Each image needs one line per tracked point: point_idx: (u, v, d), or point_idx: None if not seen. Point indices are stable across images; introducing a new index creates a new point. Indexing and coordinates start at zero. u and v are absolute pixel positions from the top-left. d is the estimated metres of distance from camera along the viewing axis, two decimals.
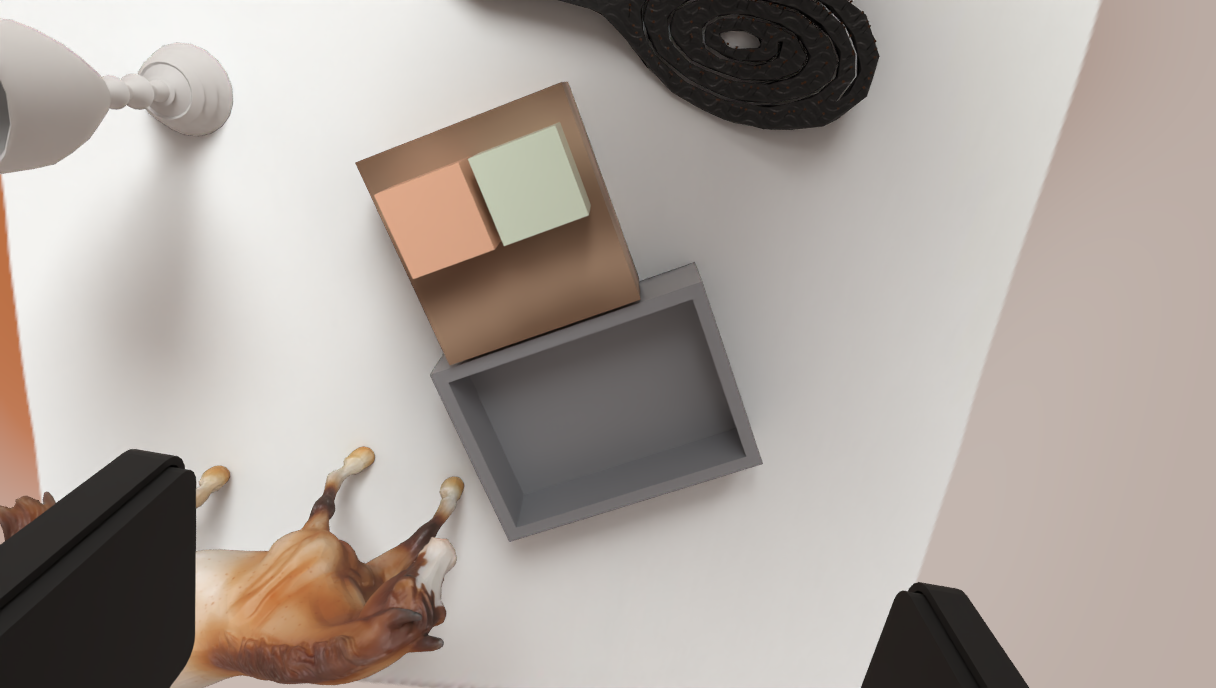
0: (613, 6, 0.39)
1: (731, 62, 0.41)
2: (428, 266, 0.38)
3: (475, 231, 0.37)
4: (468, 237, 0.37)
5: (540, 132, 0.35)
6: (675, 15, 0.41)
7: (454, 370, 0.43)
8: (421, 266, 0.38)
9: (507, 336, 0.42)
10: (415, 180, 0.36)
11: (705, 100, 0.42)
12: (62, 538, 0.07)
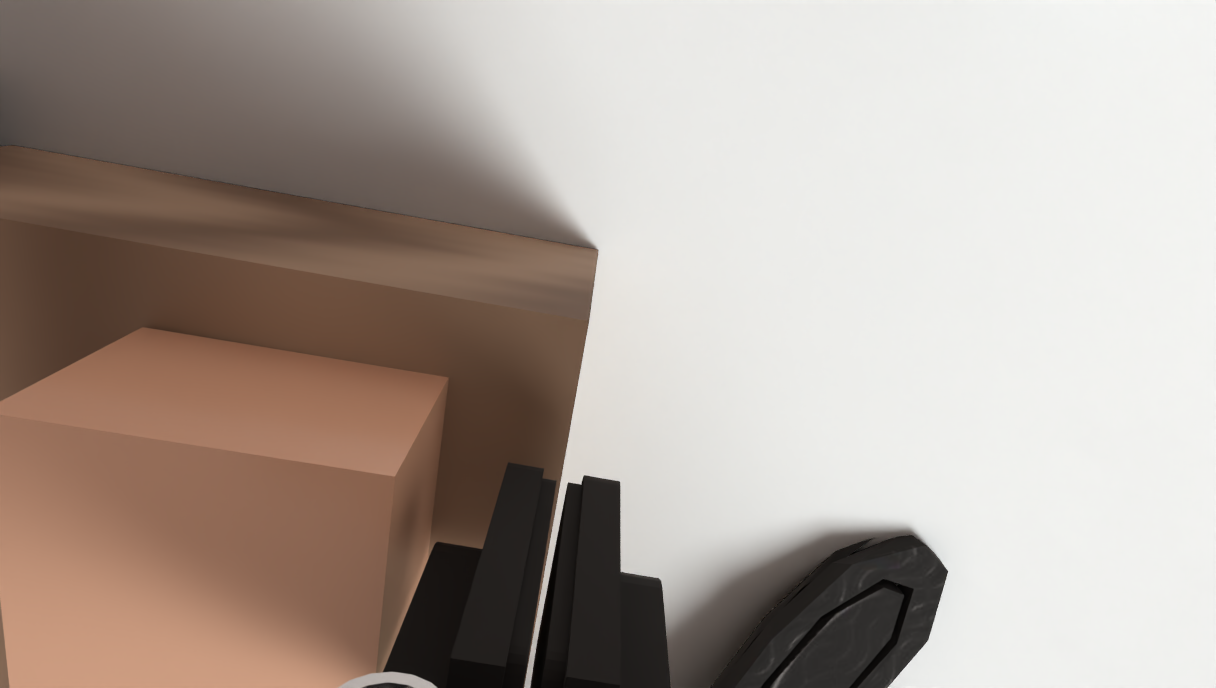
0: None
1: None
2: (21, 497, 0.09)
3: None
4: (88, 679, 0.09)
5: None
6: None
7: None
8: (28, 473, 0.08)
9: None
10: (374, 632, 0.09)
11: None
12: (520, 540, 0.09)
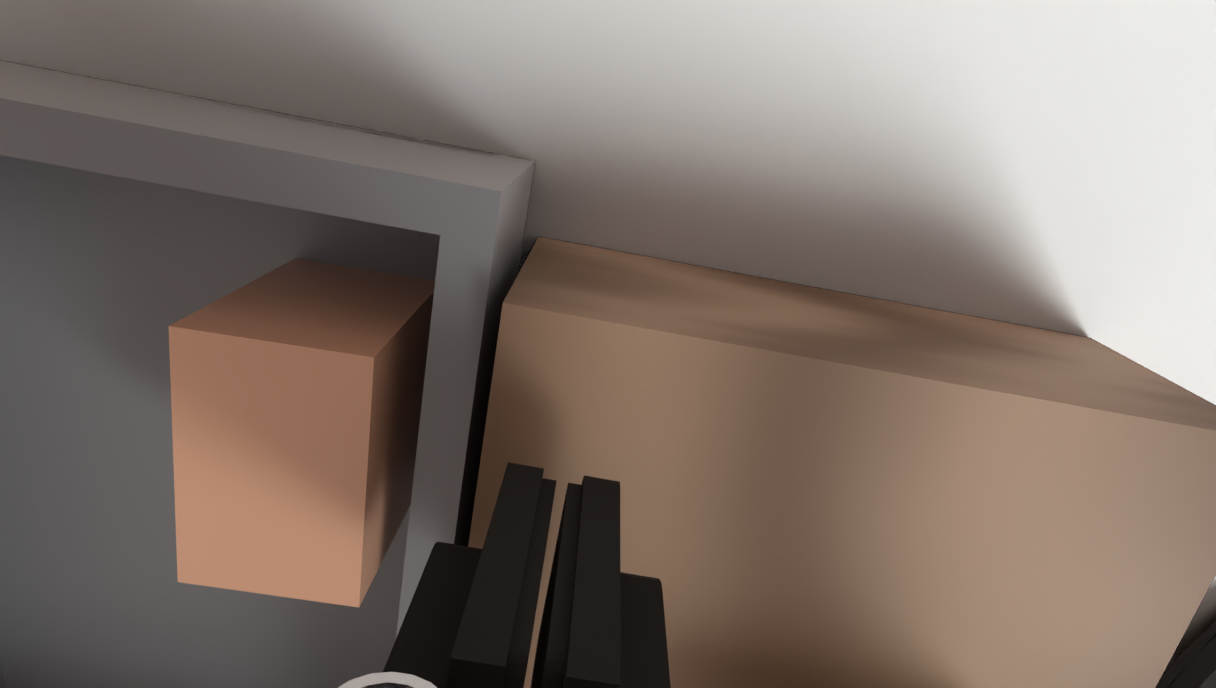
0: None
1: None
2: None
3: None
4: None
5: None
6: None
7: (472, 282, 0.11)
8: None
9: None
10: (177, 457, 0.12)
11: None
12: (520, 539, 0.09)
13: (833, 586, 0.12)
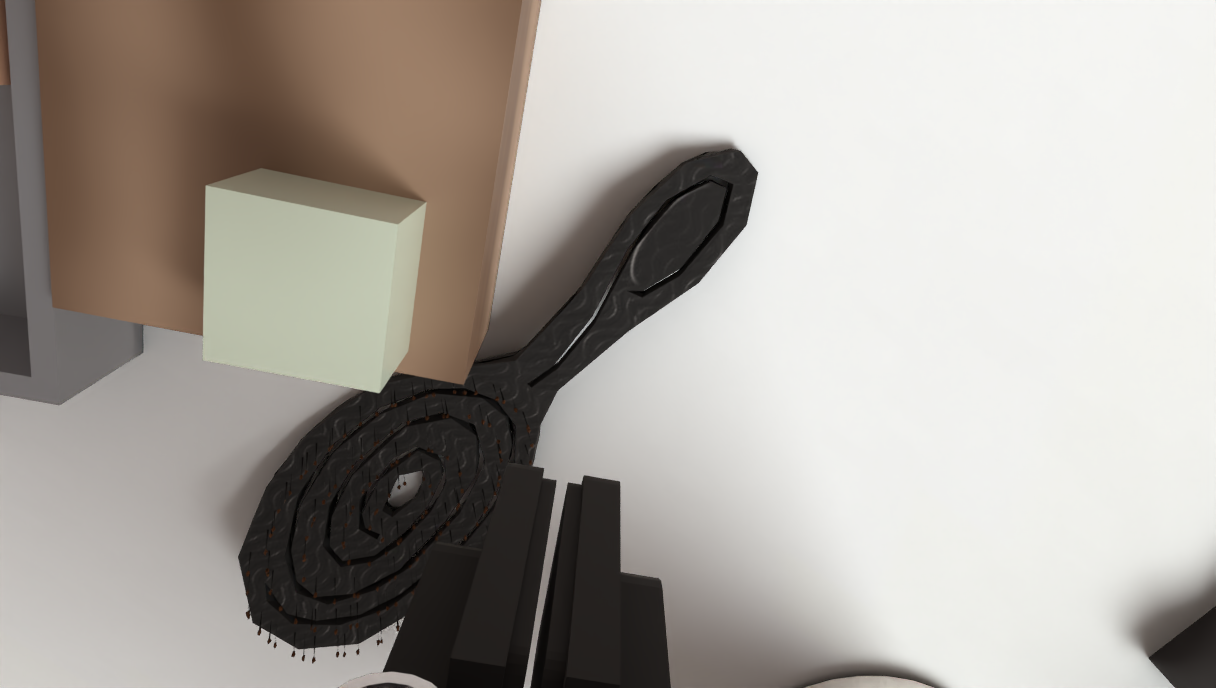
0: (514, 377, 0.26)
1: (380, 471, 0.29)
2: None
3: None
4: None
5: (379, 366, 0.19)
6: (470, 433, 0.28)
7: None
8: None
9: (56, 28, 0.19)
10: None
11: (344, 421, 0.28)
12: (520, 540, 0.09)
13: (275, 76, 0.20)
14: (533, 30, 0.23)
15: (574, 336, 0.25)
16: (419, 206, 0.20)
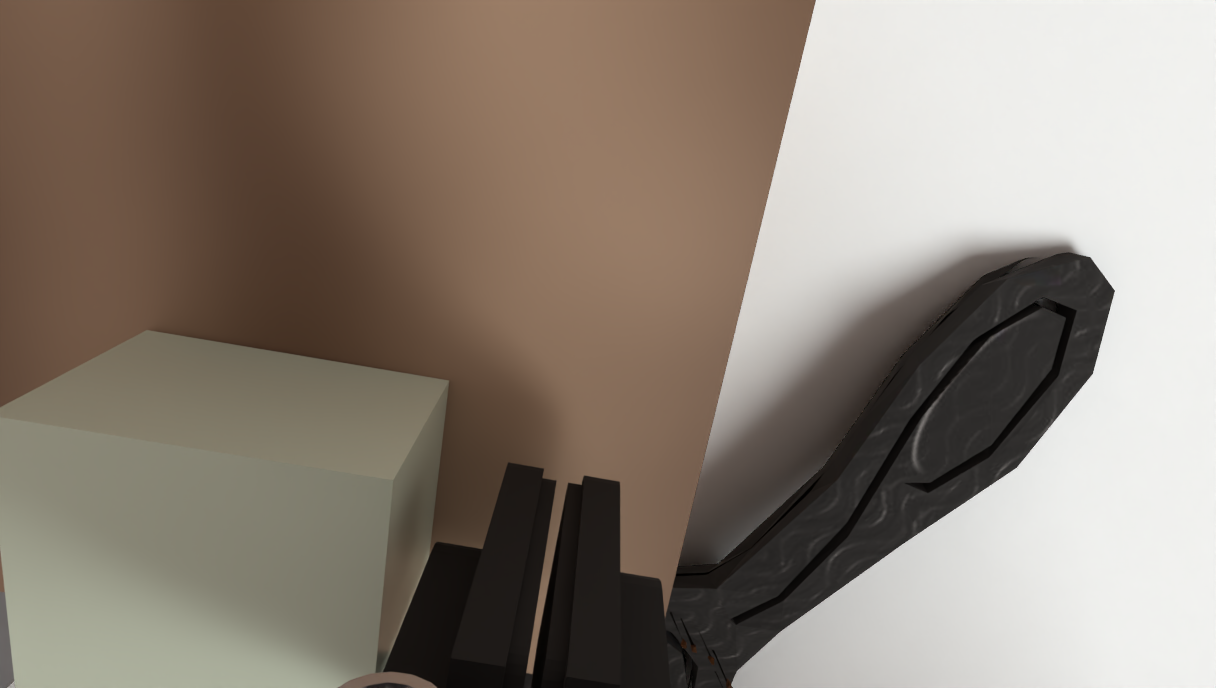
0: (709, 608, 0.17)
1: None
2: None
3: None
4: None
5: None
6: None
7: None
8: None
9: None
10: None
11: None
12: (520, 540, 0.09)
13: (330, 195, 0.10)
14: None
15: (815, 553, 0.16)
16: (436, 398, 0.11)
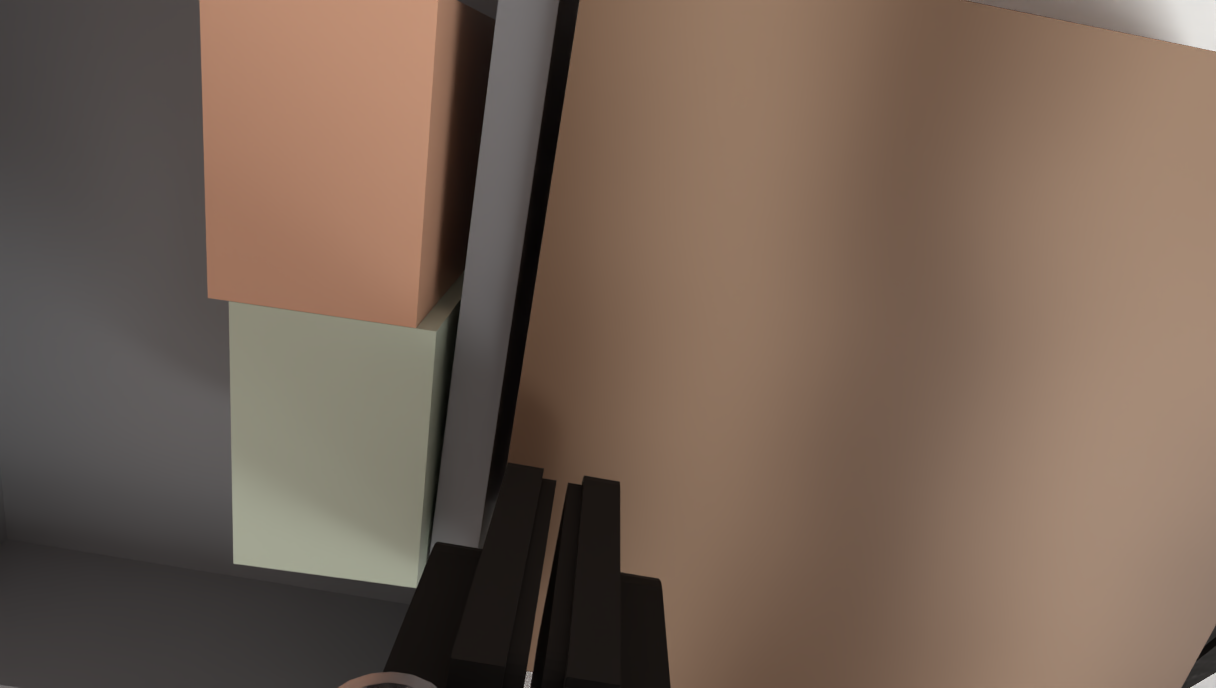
0: None
1: None
2: None
3: None
4: None
5: None
6: None
7: None
8: None
9: (579, 231, 0.10)
10: (207, 134, 0.10)
11: None
12: (520, 540, 0.09)
13: (959, 304, 0.11)
14: None
15: None
16: (389, 324, 0.11)
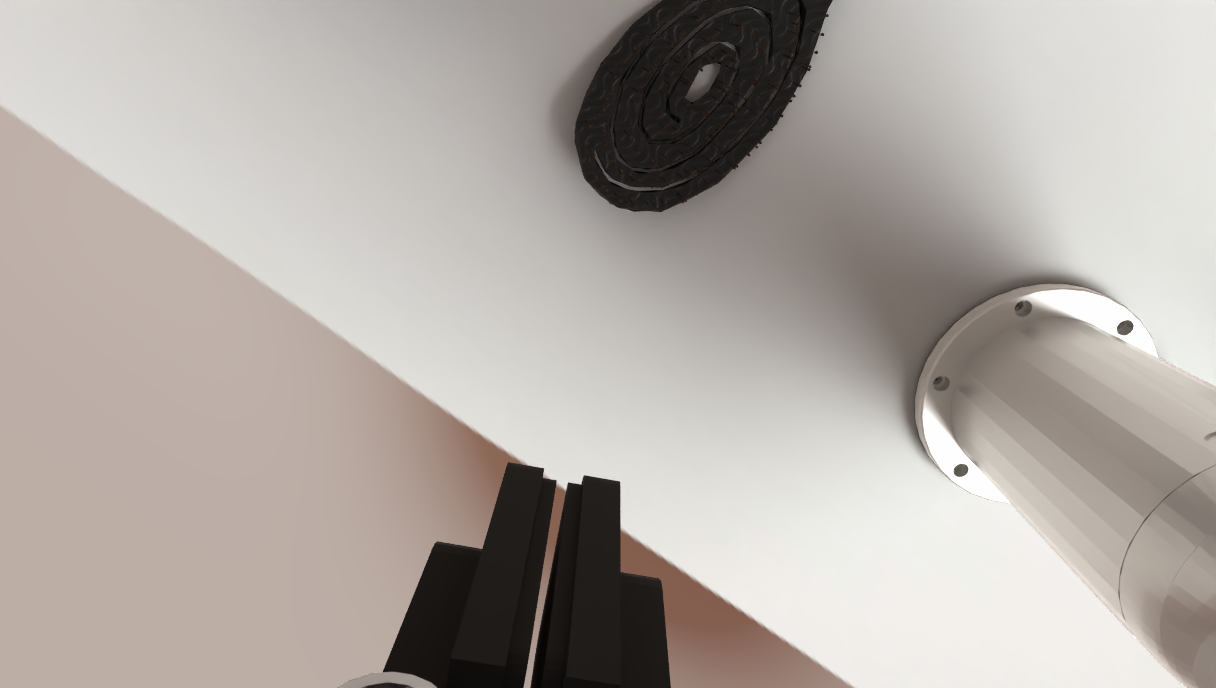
0: None
1: (687, 60, 0.36)
2: None
3: None
4: None
5: None
6: (766, 23, 0.35)
7: None
8: None
9: None
10: None
11: (664, 11, 0.35)
12: (520, 539, 0.09)
13: None
14: None
15: None
16: None
